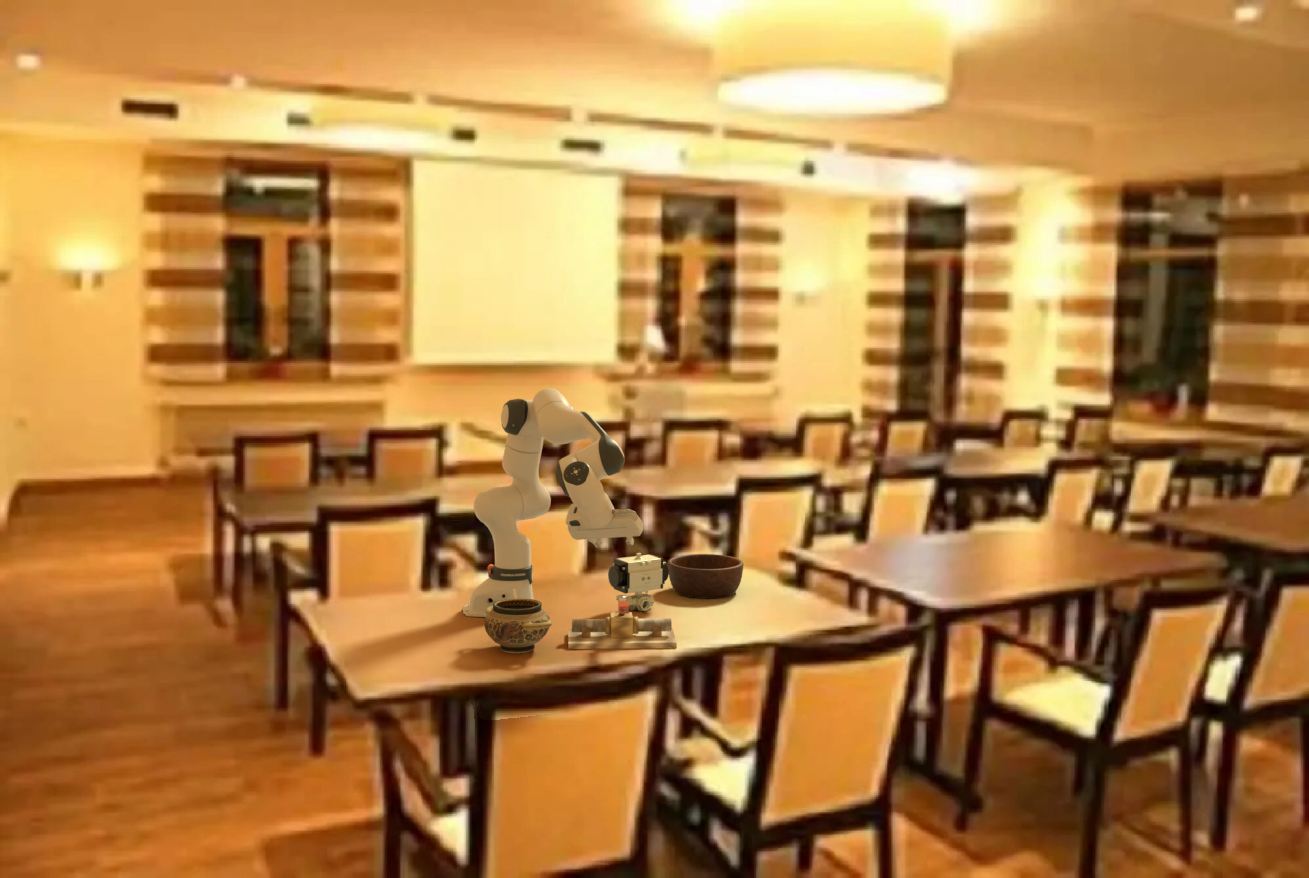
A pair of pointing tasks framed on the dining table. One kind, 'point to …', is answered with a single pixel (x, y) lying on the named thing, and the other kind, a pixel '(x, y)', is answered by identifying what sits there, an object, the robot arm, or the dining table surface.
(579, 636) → the pipe board
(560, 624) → the dining table surface
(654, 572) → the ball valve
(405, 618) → the dining table surface
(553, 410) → the robot arm
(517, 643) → the ceramic bowl
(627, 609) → the valve lever
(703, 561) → the wooden bowl
